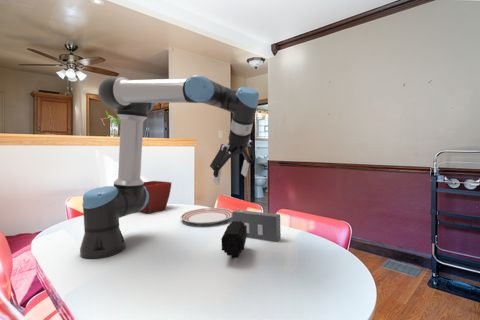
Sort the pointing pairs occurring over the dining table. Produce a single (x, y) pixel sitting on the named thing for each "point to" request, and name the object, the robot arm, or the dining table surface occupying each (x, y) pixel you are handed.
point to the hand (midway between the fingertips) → (230, 178)
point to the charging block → (259, 224)
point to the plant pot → (157, 196)
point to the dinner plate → (207, 216)
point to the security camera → (234, 238)
